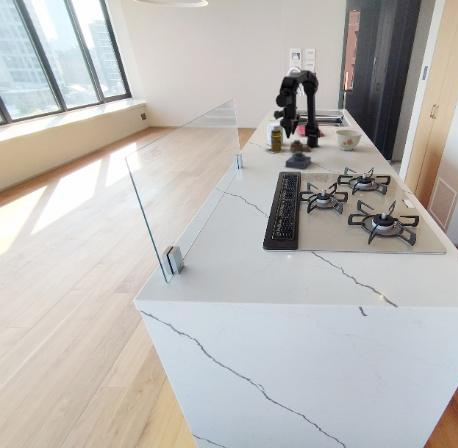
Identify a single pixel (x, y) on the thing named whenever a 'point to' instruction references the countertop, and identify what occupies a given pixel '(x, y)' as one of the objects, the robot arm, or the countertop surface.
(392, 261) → the countertop surface
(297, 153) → the nozzle
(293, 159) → the dispenser
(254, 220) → the countertop surface
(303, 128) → the dish towel
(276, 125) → the white packaging box
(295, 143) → the nozzle
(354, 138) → the bowl
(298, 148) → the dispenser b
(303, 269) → the countertop surface
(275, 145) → the condiment
